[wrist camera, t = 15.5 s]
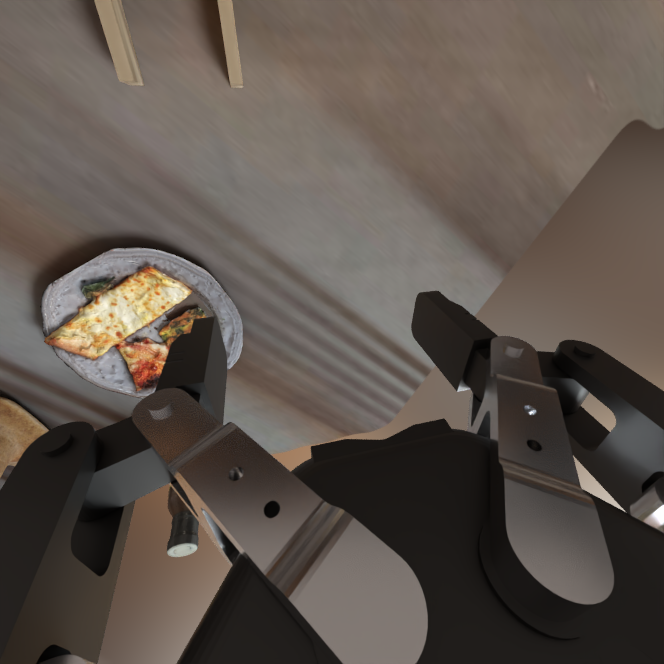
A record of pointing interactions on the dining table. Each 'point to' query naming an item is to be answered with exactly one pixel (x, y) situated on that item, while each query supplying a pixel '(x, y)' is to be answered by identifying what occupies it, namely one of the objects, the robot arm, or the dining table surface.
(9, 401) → the stone cup
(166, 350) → the food plate
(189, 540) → the sauce bottle
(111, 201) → the dining table surface
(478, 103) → the dining table surface
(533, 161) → the dining table surface
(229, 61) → the wooden stick frame
